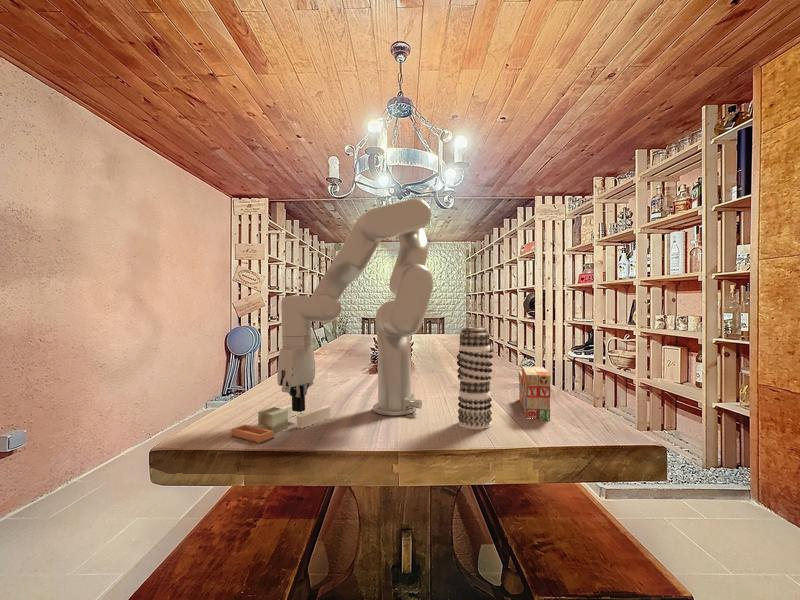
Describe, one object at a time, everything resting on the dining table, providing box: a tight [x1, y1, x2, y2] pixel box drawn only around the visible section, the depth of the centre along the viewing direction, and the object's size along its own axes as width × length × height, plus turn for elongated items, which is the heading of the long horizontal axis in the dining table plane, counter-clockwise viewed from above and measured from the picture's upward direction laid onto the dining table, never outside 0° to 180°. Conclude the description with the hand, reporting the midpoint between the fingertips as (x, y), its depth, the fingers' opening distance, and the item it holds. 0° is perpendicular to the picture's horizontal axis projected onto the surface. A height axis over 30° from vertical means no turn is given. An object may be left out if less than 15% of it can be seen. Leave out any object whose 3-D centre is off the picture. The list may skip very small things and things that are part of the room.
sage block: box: [257, 406, 289, 435], centre depth 105 cm, size 5×5×5 cm
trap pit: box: [230, 424, 275, 445], centre depth 99 cm, size 10×4×2 cm, turn 59°
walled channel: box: [280, 403, 331, 430], centre depth 113 cm, size 11×11×3 cm
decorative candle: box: [456, 326, 494, 430], centre depth 108 cm, size 9×9×25 cm
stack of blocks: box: [518, 365, 552, 421], centre depth 122 cm, size 21×6×12 cm, turn 169°
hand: (298, 410), depth 112 cm, fingers closed
